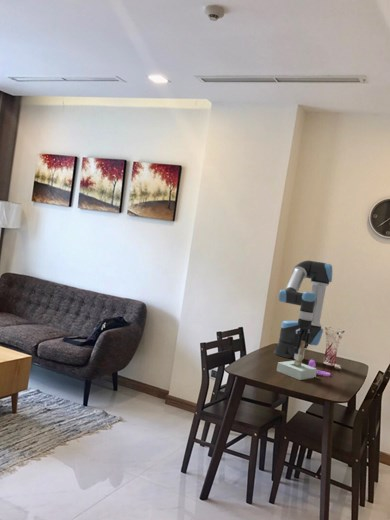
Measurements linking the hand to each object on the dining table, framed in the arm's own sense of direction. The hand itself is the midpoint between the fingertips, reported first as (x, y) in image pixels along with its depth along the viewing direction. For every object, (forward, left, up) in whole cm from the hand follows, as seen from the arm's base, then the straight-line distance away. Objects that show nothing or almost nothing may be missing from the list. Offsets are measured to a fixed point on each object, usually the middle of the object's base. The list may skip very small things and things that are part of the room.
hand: (298, 359), depth 274 cm
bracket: (-18, +4, -9) cm, 21 cm away
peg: (0, 0, -3) cm, 3 cm away
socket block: (0, 0, -9) cm, 9 cm away
